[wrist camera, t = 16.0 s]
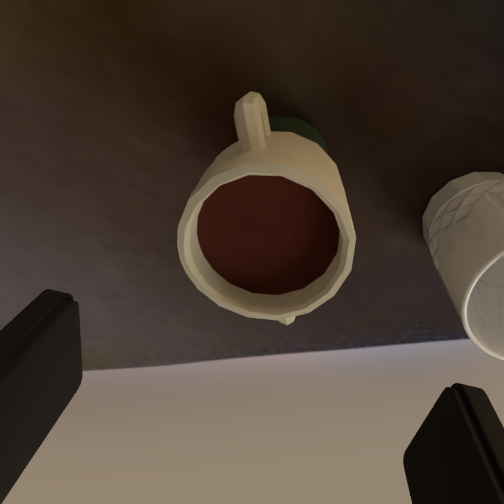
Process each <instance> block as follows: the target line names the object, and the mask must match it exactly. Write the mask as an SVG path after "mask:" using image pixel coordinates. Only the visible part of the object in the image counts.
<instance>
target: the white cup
mask: <svg viewBox="0 0 504 504" xmlns="http://www.w3.org/2000/svg"><path fill="white" fill-rule="evenodd" d="M422 223H423V237H424V239H425V241H426V243H427V245H428V247H429V249H430V252H431V255H432V259H433V262H434V264H435V266H436V268H437V270H438V273H439V276H440V278H441V280H442V282H443V284H444V287H445V289H446V291H447V293H448V295H449V297H450V299H451V301H452V303H453V305H454V307H455V310H456V312H457V314H458V316H459V318H460V320H461V322H462V325H463V327H464V329H465V331H466V333H467V335H468V336H469V338H470V339H471V340H472V342H474V344H475V345H476V346H477V347H479V348H480V349H481V350H482V351H484V352H486V353H487V354H489V355H491V356H493V357H495V358H498V359H501V360H504V174H502V173H500V172H472V173H469V174H467V175H464V176H462V177H459V178H456V179H454V180H451V181H449V182H448V183H447V184H446V185H445V186H444V187H443V188H441V189H440V190H439V191H438V192H437V193H436V194H435V195H434V196H432V198H431V200H430V202H429V204H428V206H427V208H426V210H425V212H424V214H423V216H422Z"/></svg>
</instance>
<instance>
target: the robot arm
mask: <svg viewBox="0 0 504 504" xmlns="http://www.w3.org/2000/svg"><path fill="white" fill-rule="evenodd" d="M81 380H82V357H81V339H80V320H79V305H78V302H76V301H73V297H72V295H71V294H68V293H63V292H59V291H55V290H50V289H47V290H45V291H43V292H42V293H41V294H40V295H39V296H38V297H36V298H35V299H34V300H33V301H32V302H31V303H30V304H29V305H28V306H27V307H26V308H25V309H23V310H22V311H21V312H20V313H19V314H18V315H17V316H16V317H15V318H14V319H13V320H12V321H11V322H9V323H8V324H7V325H6V326H5V327H4V328H3V329H2V330H1V331H0V504H1V503H2V502H3V500H4V499H5V497H6V496H7V494H8V493H9V491H10V490H11V488H12V487H13V486H14V484H15V482H16V481H17V480H18V478H19V477H20V475H21V474H22V472H23V471H24V469H25V468H26V466H27V465H28V463H29V462H30V460H31V458H32V457H33V456H34V454H35V453H36V451H37V450H38V448H39V447H40V445H41V444H42V442H43V441H44V439H45V438H46V436H47V435H48V433H49V432H50V430H51V429H52V427H53V426H54V424H55V423H56V421H57V420H58V418H59V417H60V415H61V414H62V412H63V411H64V409H65V408H66V406H67V405H68V403H69V402H70V400H71V399H72V397H73V396H74V394H75V393H76V391H77V390H78V388H79V386H80V384H81ZM403 464H404V469H405V474H406V478H407V482H408V487H409V491H410V496H411V500H412V504H504V428H503V426H502V424H501V422H500V420H499V418H498V416H497V414H496V412H495V410H494V408H493V406H492V404H491V402H490V400H489V398H488V397H487V395H486V393H485V392H484V390H482V389H481V388H477V387H473V386H468V385H464V384H459V383H455V384H453V385H452V386H451V387H446V388H445V389H444V391H443V392H442V393H441V395H440V397H439V398H438V400H437V401H436V403H435V404H434V406H433V408H432V409H431V411H430V413H429V414H428V416H427V417H426V419H425V421H424V422H423V424H422V425H421V427H420V428H419V430H418V432H417V433H416V435H415V436H414V438H413V439H412V441H411V443H410V444H409V446H408V448H407V449H406V451H405V453H404V459H403Z"/></svg>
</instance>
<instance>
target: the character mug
mask: <svg viewBox="0 0 504 504" xmlns="http://www.w3.org/2000/svg"><path fill="white" fill-rule="evenodd" d="M234 120H235V125H236V130H237V135H238V140H239V141H238V142H235V143H233V144H232V145H230V146H229V147H228V148H226V149H225V150H223V151H222V152H221V153H220V154H219V155H218V156H217V157H216V158H215V160H214V162H213V163H212V164H211V166H210V167H209V168H208V169H207V170H206V171H205V173H204V174H203V176H202V178H201V180H200V181H199V183H198V185H197V186H196V189H195V190H194V191H193V192H192V194H191V195H190V198H189V200H188V203H187V205H186V208H185V210H184V213H183V215H182V217H181V220H180V222H179V225H178V242H177V247H178V252H179V257H180V261H181V263H182V265H183V267H184V269H185V272H186V273H187V275H188V276H189V278H190V279H191V280H192V282H193V283H194V284H195V286H196V287H197V289H198V290H200V291H201V292H202V293H204V294H205V295H206V296H207V297H209V298H210V299H211V300H213V301H214V302H215V303H216V304H218V305H219V306H221V307H223V308H226V309H228V310H231V311H233V312H236V313H238V314H241V315H243V316H246V317H249V318H260V319H271V320H279V321H280V322H281V323H283V324H285V325H288V324H290V323H292V322H293V321H294V319H295V316H298V315H302V314H306V313H309V312H311V311H312V310H314V309H315V308H317V307H318V306H320V305H321V304H323V303H324V302H326V301H327V300H329V299H330V298H332V297H333V296H334V295H335V294H336V292H337V291H338V289H339V288H340V286H341V285H342V283H343V282H344V280H345V279H346V277H347V276H348V274H349V273H350V271H351V269H352V262H353V255H354V249H355V242H356V236H355V231H354V227H353V223H352V219H351V215H350V211H349V207H348V203H347V199H346V195H345V191H344V187H343V184H342V181H341V178H340V175H339V172H338V168H337V165H336V164H335V163H334V161H333V160H332V159H331V158H330V157H329V156H328V149H327V145H326V143H325V142H324V140H323V139H322V137H321V136H320V134H319V133H318V131H317V130H316V128H315V127H313V126H311V125H309V124H307V123H306V122H304V121H302V120H300V119H298V118H297V117H280V116H273V117H271V118H268V114H267V108H266V103H265V101H264V99H263V98H262V96H261V95H260V93H257V92H253V91H250V92H249V93H247V94H246V95H245V96H243V97H242V98H241V99H240V100H238V101H237V102H236V105H235V111H234Z"/></svg>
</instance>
